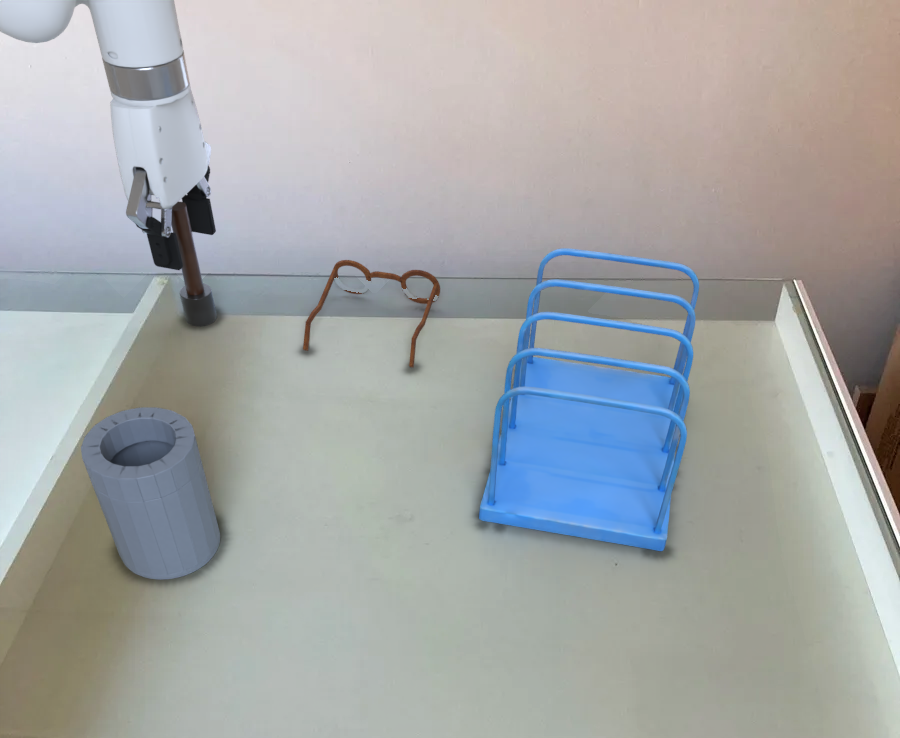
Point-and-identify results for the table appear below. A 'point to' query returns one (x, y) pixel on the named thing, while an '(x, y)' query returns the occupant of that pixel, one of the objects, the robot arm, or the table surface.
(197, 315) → the brown and grey pestle
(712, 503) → the table surface
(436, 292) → the glasses
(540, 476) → the file sorter
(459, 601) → the table surface
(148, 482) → the pen holder
